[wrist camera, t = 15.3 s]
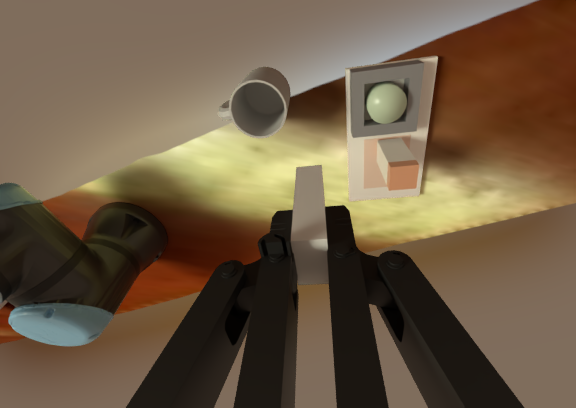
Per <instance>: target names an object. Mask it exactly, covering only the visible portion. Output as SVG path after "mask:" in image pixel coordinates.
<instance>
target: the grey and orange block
mask: <svg viewBox="0 0 576 408" xmlns="http://www.w3.org/2000/svg"><path fill="white" fill-rule="evenodd" d="M377 164H378V166H379V168H380V171H381V173H382V175H383V178H384V180H385V183H386V185H387V187H388V190H389V191H391V190H403V189H415V188H416V187H417V179H418V171H419V164H418V162H417V161H416V159H415V158H414V156H413V155H412V153H411V152H410V150H409V149H408V147H407V146H406V144H405V143H404V141H403V140H402V138H397V137H395V138H386V139H378V140H377Z"/></svg>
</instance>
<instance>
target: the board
mask: <svg viewBox="0 0 576 408" xmlns="http://www.w3.org/2000/svg"><path fill="white" fill-rule="evenodd" d="M437 61H438V57H437V56H431V57H423V58H416V59H409V60H402V61H394V62H387V63H380V64H373V65H365V66H359V67H352V68H345V78H346V116H347V153H348V190H349V201H361V200H373V199H386V198H398V197H411V196H419V194H420V186H421V179H422V172H423V164H424V157H425V149H426V142H427V135H428V127H429V120H430V112H431V105H432V98H433V90H434V83H435V76H436V68H437ZM383 81H391V82H393V83H395V84H396V85H397V86H398V87H399V88H400V89H401V90H402V91H403V92H404V93H405V95H406V98H407V105H406V109H405V111H404V113H403V114H402V115H401V117H399V118H398V119H397V120H396V121H394V122H391V123H388V124H381V123H378V122H376V121H374V120H373V119H372V118H371V116H370V114H369V113H368V111H367V109H366V106H365V97H366V94H367V92H368V90H369V89H370V88H371V87H372V86H373V85H374V84H376V83H378V82H383ZM395 137H397V138H402V140H403V141H404V143H405V144H406V146H407V147H408V149H409V150H410V152H411V153H412V155H413V156H414V158H415V159H416V161H417V162H418V164H419V171H418V179H417V187H416V188H415V189H403V190H391V191H389V190H388V187H387V185H386V183H385V180H384V178H383V175H382V173H381V171H380V168H379V166H378V164H377V140H378V139H386V138H395Z"/></svg>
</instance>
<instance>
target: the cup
mask: <svg viewBox="0 0 576 408" xmlns="http://www.w3.org/2000/svg"><path fill="white" fill-rule="evenodd" d="M289 101H290V87H289V84H288V82H287V80H286V78H285V77H284V76H283V75H282V74H281V73H280V72H279V71H277V70H275V69H273V68H269V67H261V68H257V69H255V70H253V71H252V72H250V73H249V74H248V75H247V76H246V77H245V78H244V79H243V80H242V82H241V83H240V84H239V85H238V86H237V88H236V89H235V90H234V92H233V93H232V95H231V98H230V100H228V101H227V102H225V103H224V104H223V105H222V106H220V107H219V109H218V116H219V117H220V118H221V119H222V120H232V121H233V123H234V124H235V126H236V127H237V128H238V129H239V130H240V131H241V132H243V133H244V134H246V135H248V136H250V137H254V138H267V137H269V136H272V135H274V134H275V133H277V132H278V131H279V130H280V129H281V127H282V126H283V124H284V122H285V120H286V116H287V111H288V106H289Z"/></svg>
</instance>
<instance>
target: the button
mask: <svg viewBox="0 0 576 408" xmlns="http://www.w3.org/2000/svg"><path fill="white" fill-rule="evenodd" d="M406 105H407V98H406V95H405V93H404V92H403V91H402V90H401V89H400V88H399V87H398V86H397V85H396V84H395V83H393V82H391V81H383V82H378V83H376V84H374V85H373V86H372V87H371V88H370V89H369V90H368V92H367V94H366V97H365V106H366V109H367V111H368V113H369V114H370V116H371V118H372V119H373V120H374V121H376V122H378V123H381V124H388V123H391V122H394V121H396V120H397V119H398V118H399V117H401V115H402V114H403V113H404V111H405V109H406Z"/></svg>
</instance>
